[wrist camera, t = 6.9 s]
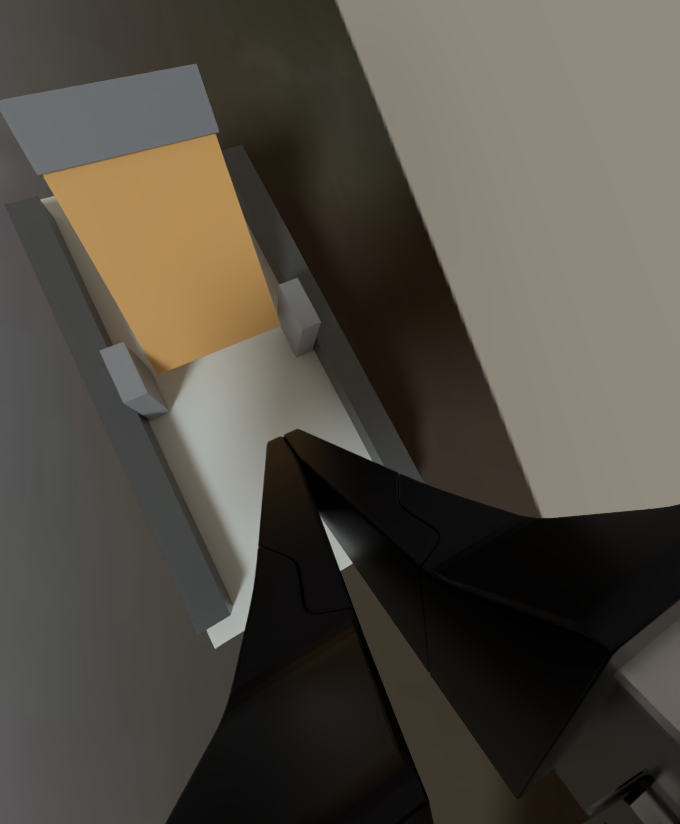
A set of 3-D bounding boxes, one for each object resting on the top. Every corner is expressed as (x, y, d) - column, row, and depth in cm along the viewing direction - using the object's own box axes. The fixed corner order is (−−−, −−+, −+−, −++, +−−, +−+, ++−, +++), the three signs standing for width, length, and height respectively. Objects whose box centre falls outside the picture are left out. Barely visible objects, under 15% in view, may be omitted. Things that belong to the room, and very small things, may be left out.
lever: (284, 325, 15) (196, 63, 11) (155, 377, 14) (-6, 101, 9) (271, 316, 16) (189, 83, 12) (153, 362, 15) (13, 117, 11)
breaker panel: (406, 511, 19) (464, 519, 14) (224, 621, 17) (201, 688, 11) (239, 196, 21) (229, 87, 16) (53, 250, 19) (-42, 142, 13)
